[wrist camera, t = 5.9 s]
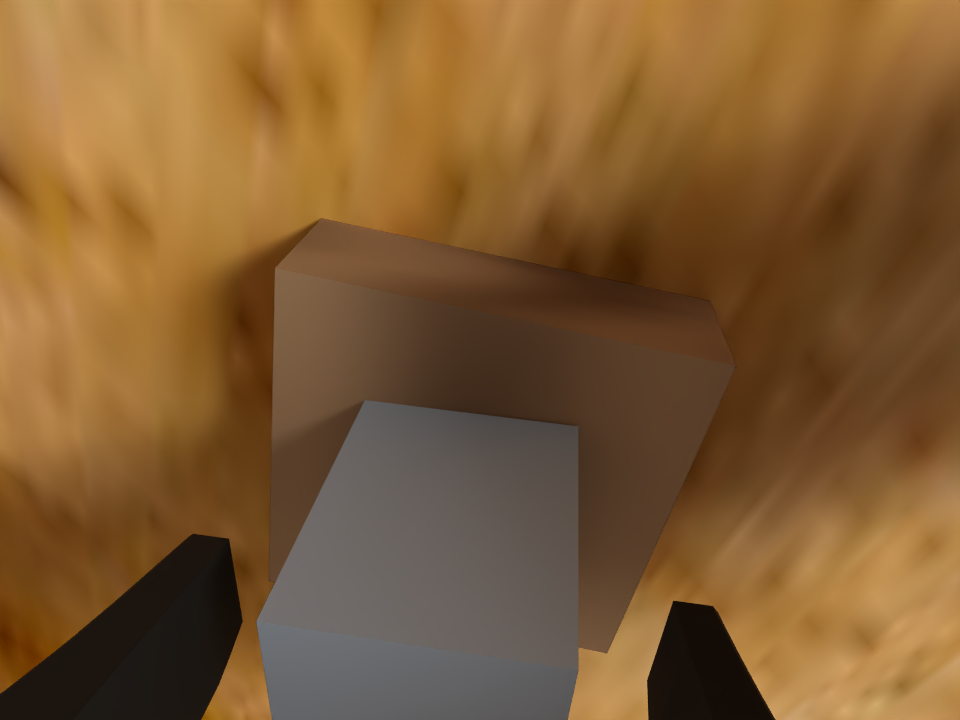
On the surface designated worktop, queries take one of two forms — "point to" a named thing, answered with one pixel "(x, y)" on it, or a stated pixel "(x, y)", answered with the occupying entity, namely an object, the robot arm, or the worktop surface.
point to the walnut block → (496, 381)
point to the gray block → (432, 575)
